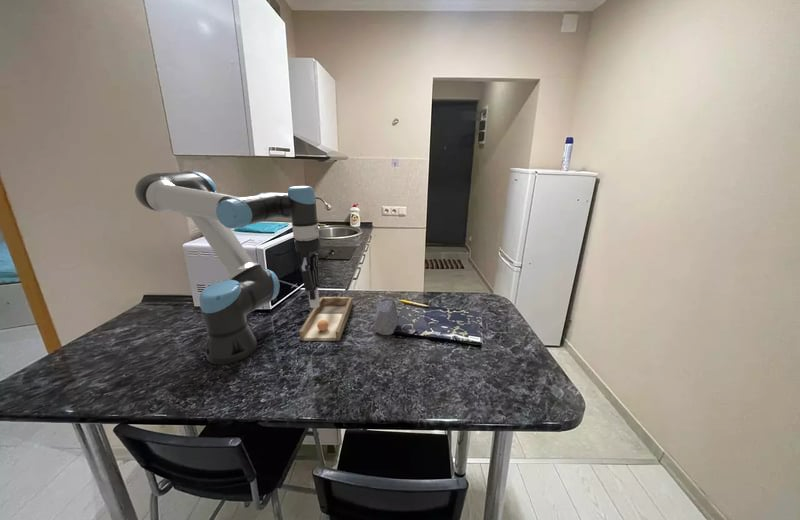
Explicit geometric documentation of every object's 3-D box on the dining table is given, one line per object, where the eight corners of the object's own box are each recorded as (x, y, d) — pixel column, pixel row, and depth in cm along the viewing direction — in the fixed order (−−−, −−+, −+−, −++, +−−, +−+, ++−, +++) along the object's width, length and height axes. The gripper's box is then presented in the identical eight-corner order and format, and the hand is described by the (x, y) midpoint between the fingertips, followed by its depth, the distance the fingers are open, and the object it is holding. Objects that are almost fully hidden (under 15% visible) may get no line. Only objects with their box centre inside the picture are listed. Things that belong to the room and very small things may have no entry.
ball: (316, 333, 110) (315, 323, 109) (319, 327, 114) (318, 317, 113) (327, 333, 110) (326, 323, 109) (330, 327, 114) (329, 317, 113)
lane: (300, 340, 108) (299, 331, 107) (321, 304, 134) (320, 297, 133) (339, 340, 108) (338, 331, 107) (352, 304, 134) (352, 297, 133)
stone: (379, 324, 121) (403, 319, 119) (375, 342, 113) (400, 337, 110) (368, 301, 116) (392, 295, 114) (363, 318, 107) (389, 312, 105)
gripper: (312, 243, 87) (321, 316, 95) (324, 232, 100) (330, 298, 107) (286, 243, 88) (297, 316, 95) (301, 233, 100) (309, 298, 107)
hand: (315, 306), depth 101 cm, fingers closed
